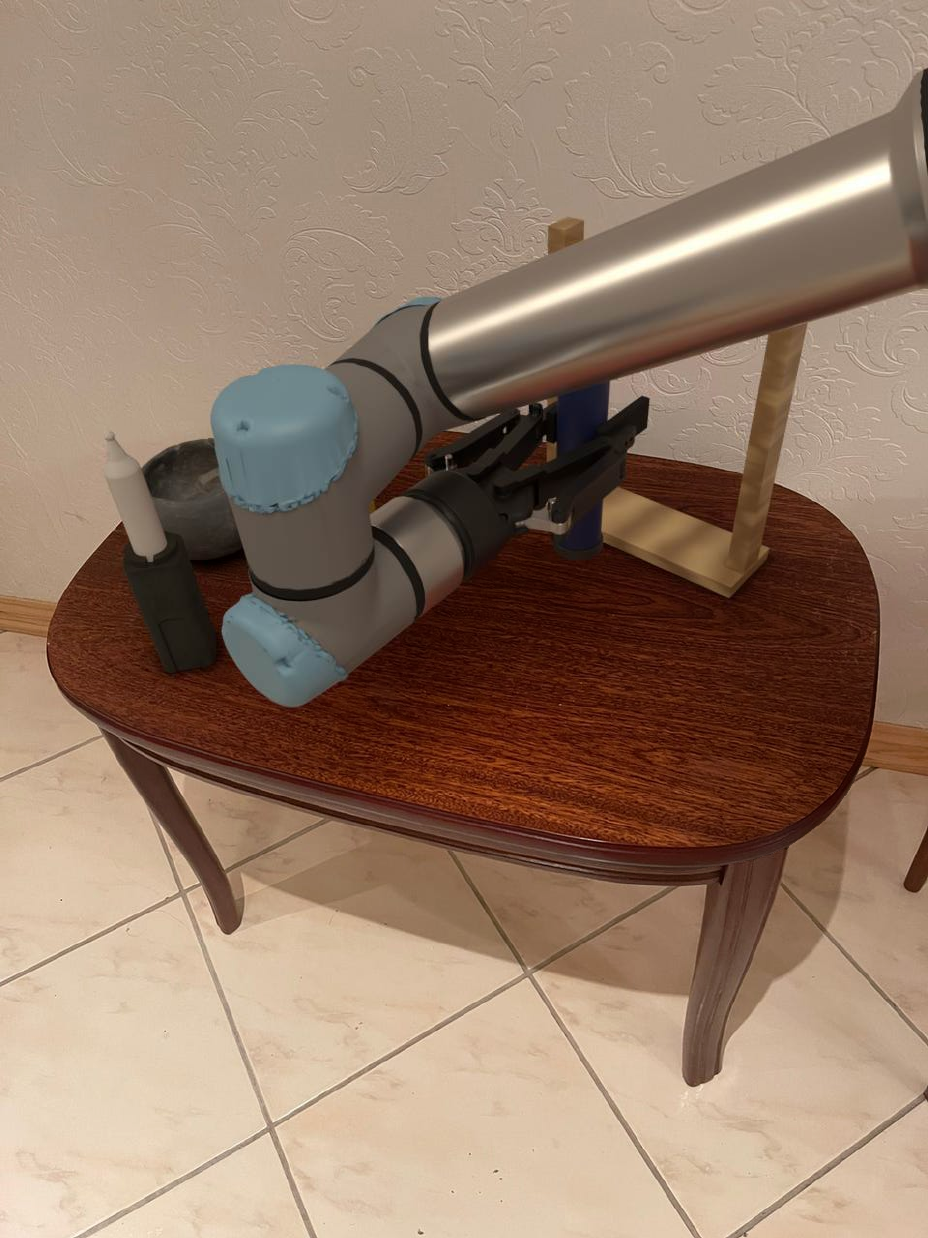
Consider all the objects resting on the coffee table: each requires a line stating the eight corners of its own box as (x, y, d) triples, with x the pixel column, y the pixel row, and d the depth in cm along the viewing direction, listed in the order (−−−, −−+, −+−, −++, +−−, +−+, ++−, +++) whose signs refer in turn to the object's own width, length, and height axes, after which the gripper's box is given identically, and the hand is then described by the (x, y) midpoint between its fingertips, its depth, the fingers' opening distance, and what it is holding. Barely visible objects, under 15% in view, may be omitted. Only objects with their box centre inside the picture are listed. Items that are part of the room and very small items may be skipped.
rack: (767, 559, 93) (832, 262, 72) (728, 598, 89) (786, 295, 68) (574, 479, 106) (582, 208, 85) (533, 511, 102) (531, 233, 81)
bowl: (135, 533, 103) (107, 459, 97) (255, 490, 108) (236, 418, 102) (172, 602, 94) (144, 526, 87) (302, 552, 99) (285, 476, 92)
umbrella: (583, 567, 76) (596, 265, 59) (542, 548, 78) (543, 252, 61) (647, 512, 81) (676, 220, 64) (607, 495, 84) (625, 209, 66)
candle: (163, 675, 86) (71, 452, 69) (165, 640, 89) (78, 420, 73) (216, 666, 86) (137, 442, 69) (216, 631, 90) (142, 411, 73)
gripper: (351, 539, 68) (538, 413, 80) (526, 633, 59) (706, 475, 72) (336, 455, 63) (538, 334, 75) (525, 544, 54) (718, 391, 67)
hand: (619, 403), depth 74 cm, fingers closed on umbrella, 4 cm apart
